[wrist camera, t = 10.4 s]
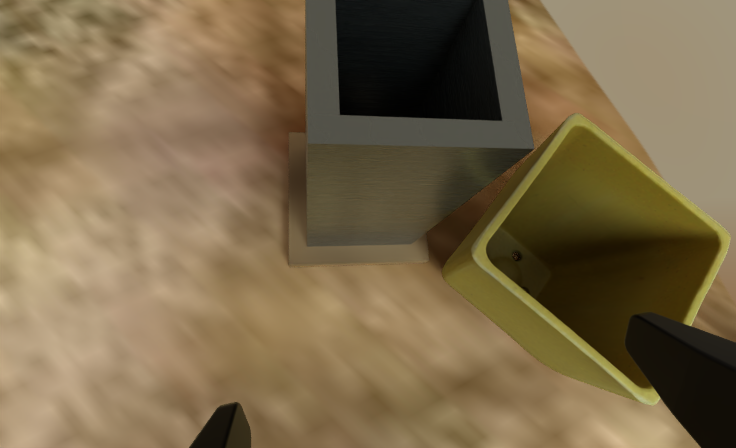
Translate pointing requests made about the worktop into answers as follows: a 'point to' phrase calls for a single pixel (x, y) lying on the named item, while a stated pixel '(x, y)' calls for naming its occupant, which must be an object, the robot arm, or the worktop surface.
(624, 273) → the flower pot
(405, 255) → the tan piece
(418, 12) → the open square box
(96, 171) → the worktop surface
